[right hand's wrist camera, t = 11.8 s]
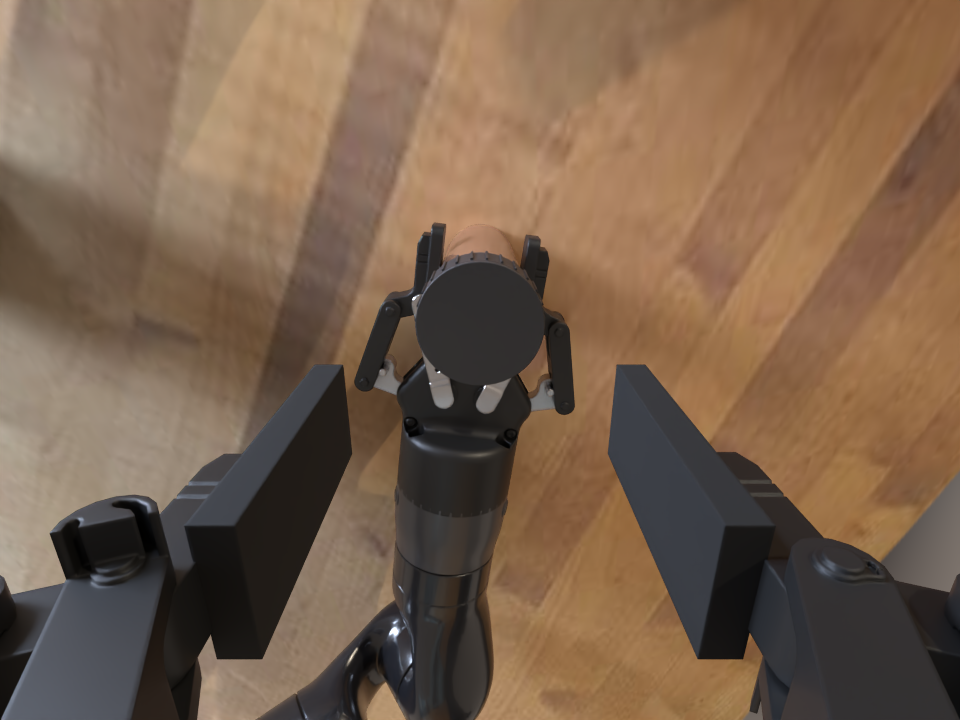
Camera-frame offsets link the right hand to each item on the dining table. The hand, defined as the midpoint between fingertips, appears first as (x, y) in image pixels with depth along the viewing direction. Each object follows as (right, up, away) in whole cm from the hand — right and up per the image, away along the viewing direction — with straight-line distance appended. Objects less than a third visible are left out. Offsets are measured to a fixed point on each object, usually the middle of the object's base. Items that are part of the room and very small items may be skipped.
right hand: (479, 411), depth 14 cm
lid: (0, +3, +8) cm, 8 cm away
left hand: (0, +9, +15) cm, 17 cm away
